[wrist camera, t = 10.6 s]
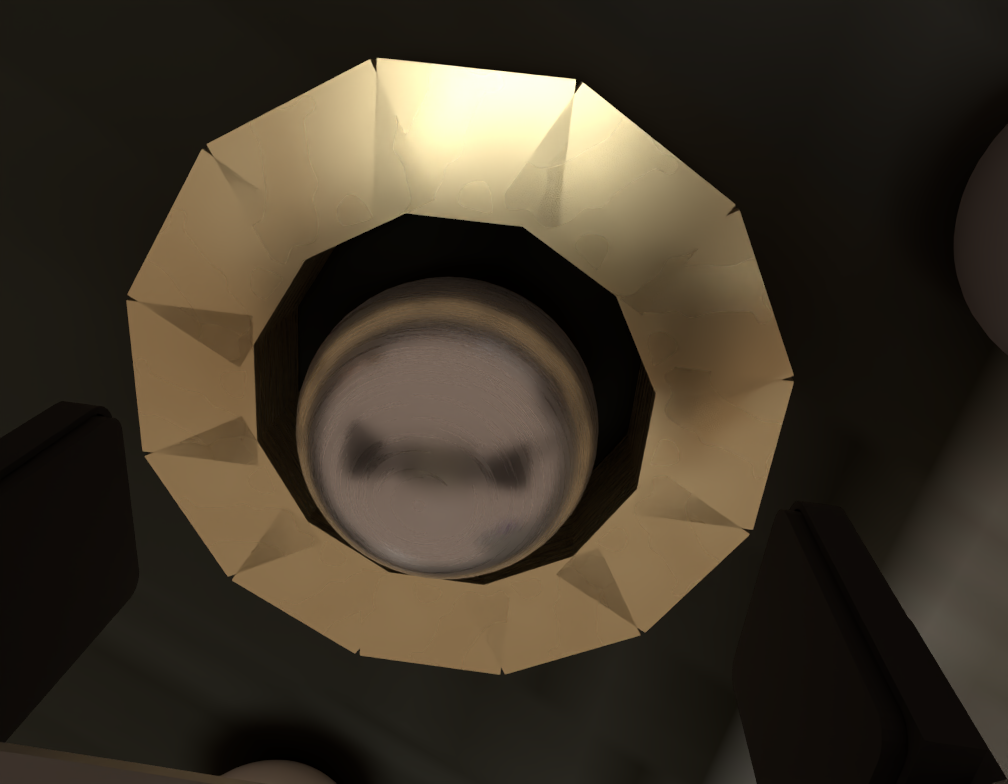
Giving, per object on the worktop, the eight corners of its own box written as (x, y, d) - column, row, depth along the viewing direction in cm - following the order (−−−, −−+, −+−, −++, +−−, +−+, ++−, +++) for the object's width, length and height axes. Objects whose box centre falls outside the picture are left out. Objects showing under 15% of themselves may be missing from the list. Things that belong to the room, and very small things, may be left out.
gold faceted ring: (819, 104, 14) (868, 111, 12) (688, 626, 19) (704, 702, 17) (172, 34, 14) (97, 27, 12) (210, 562, 19) (161, 628, 17)
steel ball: (614, 264, 15) (631, 359, 10) (577, 496, 18) (575, 670, 12) (349, 232, 16) (234, 309, 10) (345, 464, 18) (250, 621, 13)
